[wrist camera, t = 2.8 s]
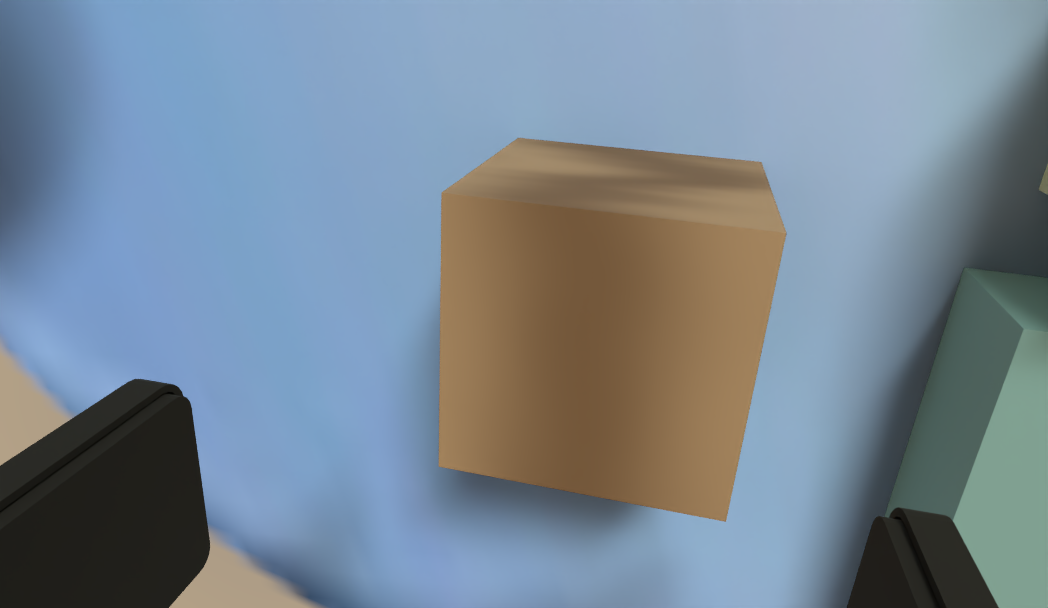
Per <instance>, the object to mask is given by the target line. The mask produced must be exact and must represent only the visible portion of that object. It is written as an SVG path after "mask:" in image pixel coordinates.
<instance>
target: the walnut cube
mask: <svg viewBox="0 0 1048 608" xmlns="http://www.w3.org/2000/svg"><path fill="white" fill-rule="evenodd" d="M785 237H786V231H785V228H784V225H783V222H782V219H781V216H780V214H779V211H778V208H777V205H776V202H775V199H774V197H773V194H772V191H771V188H770V185H769V182H768V180H767V177H766V174H765V171H764V168H763V165H762V163H761V162H755V161H745V160H735V159H725V158H715V157H705V156H695V155H685V154H674V153H664V152H654V151H644V150H634V149H624V148H614V147H604V146H594V145H584V144H574V143H564V142H554V141H544V140H534V139H524V138H517V139H516V140H515V141H513V142H512V143H510V144H509V145H508V146H506V147H505V148H503V149H502V150H501V151H499V152H498V153H496V154H495V155H494V156H492V157H491V158H489V159H488V160H487V161H485V162H484V163H482V164H481V165H480V166H478V167H477V168H475V169H474V170H473V171H471V172H470V173H468V174H467V175H466V176H464V177H463V178H461V179H460V180H459V181H457V182H456V183H454V184H453V185H452V186H450V187H449V188H447V189H446V190H445V191H443V192H442V199H441V297H440V395H439V467H444V468H449V469H454V470H459V471H465V472H470V473H475V474H480V475H485V476H491V477H496V478H501V479H506V480H512V481H517V482H522V483H527V484H532V485H538V486H543V487H548V488H553V489H558V490H564V491H569V492H574V493H579V494H584V495H590V496H595V497H600V498H605V499H610V500H616V501H621V502H626V503H631V504H637V505H642V506H647V507H652V508H657V509H663V510H668V511H673V512H678V513H683V514H689V515H694V516H699V517H704V518H709V519H715V520H720V521H725V522H726V518H727V514H728V509H729V504H730V499H731V494H732V490H733V485H734V480H735V475H736V471H737V466H738V461H739V456H740V452H741V447H742V442H743V437H744V432H745V428H746V423H747V418H748V413H749V409H750V404H751V399H752V394H753V390H754V385H755V380H756V375H757V371H758V366H759V361H760V356H761V351H762V347H763V342H764V337H765V332H766V328H767V323H768V318H769V313H770V309H771V304H772V299H773V294H774V289H775V285H776V280H777V275H778V270H779V266H780V261H781V256H782V251H783V247H784V242H785Z"/></svg>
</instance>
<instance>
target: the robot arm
mask: <svg viewBox="0 0 1048 608" xmlns="http://www.w3.org/2000/svg"><path fill="white" fill-rule="evenodd" d="M209 551H210V540H209V532H208V525H207V518H206V510H205V503H204V496H203V488H202V481H201V474H200V466H199V459H198V452H197V444H196V437H195V430H194V422H193V415H192V408H191V404H190V401H189V400H188V399H187V398H186V397H183V394H182V391H181V390H180V389H179V387H177V386H175V385H173V384H167V383H161V382H155V381H149V380H144V379H134V380H132V381H129V382H127V383H126V384H124V385H123V386H121V387H120V388H118V389H117V390H115V391H114V392H112V393H111V394H109V395H108V396H106V397H105V398H103V399H101V400H100V401H98V402H97V403H95V404H94V405H92V406H91V407H89V408H88V409H86V410H85V411H83V412H82V413H80V414H79V415H77V416H75V417H74V418H72V419H71V420H69V421H68V422H66V423H65V424H63V425H62V426H60V427H59V428H57V429H56V430H54V431H53V432H51V433H50V434H48V435H47V436H45V437H43V438H42V439H40V440H39V441H37V442H36V443H34V444H33V445H31V446H30V447H28V448H27V449H25V450H24V451H22V452H20V453H19V454H18V455H16V456H14V457H13V458H11V459H10V460H8V461H7V462H5V463H4V464H3V465H1V466H0V608H169V607H170V605H171V604H172V603H173V602H174V601H175V600H176V599H177V598H178V596H179V595H180V594H181V593H182V592H183V591H184V590H185V588H186V587H187V586H188V585H189V584H190V583H191V582H192V580H193V579H194V578H195V577H196V576H197V575H198V574H199V572H200V571H201V570H202V568H203V567H204V565H205V563H206V561H207V558H208V555H209ZM847 608H999V607H998V605H997V603H996V601H995V599H994V597H993V596H992V594H991V592H990V590H989V588H988V586H987V584H986V582H985V580H984V579H983V577H982V575H981V573H980V571H979V569H978V567H977V565H976V563H975V562H974V560H973V558H972V556H971V554H970V552H969V550H968V548H967V546H966V544H965V543H964V541H963V539H962V537H961V535H960V533H959V531H958V529H957V527H956V526H955V524H954V522H953V521H952V519H951V518H950V517H948V516H946V515H942V514H936V513H930V512H924V511H918V510H912V509H906V508H900V507H897V508H895V509H894V510H893V511H892V512H891V514H890V516H889V518H887V517H882V516H878V517H876V518H875V520H874V522H873V524H872V527H871V530H870V533H869V536H868V540H867V543H866V546H865V550H864V553H863V556H862V559H861V563H860V566H859V569H858V573H857V576H856V579H855V583H854V586H853V589H852V592H851V596H850V599H849V602H848V606H847Z"/></svg>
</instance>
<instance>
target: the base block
mask: <svg viewBox="0 0 1048 608" xmlns="http://www.w3.org/2000/svg"><path fill="white" fill-rule="evenodd" d="M897 507H900V508H906V509H912V510H918V511H924V512H930V513H936V514H942V515H946V516H948V517H950V518H951V519H952V521H953V522H954V524H955V526H956V527H957V529H958V531H959V533H960V535H961V537H962V539H963V541H964V543H965V544H966V546H967V548H968V550H969V552H970V554H971V556H972V558H973V560H974V562H975V563H976V565H977V567H978V569H979V571H980V573H981V575H982V577H983V579H984V580H985V582H986V584H987V586H988V588H989V590H990V592H991V594H992V596H993V597H994V599H995V601H996V603H997V605H998V607H999V608H1048V278H1046V277H1038V276H1030V275H1022V274H1014V273H1005V272H997V271H989V270H981V269H973V268H964V269H963V272H962V275H961V279H960V282H959V285H958V288H957V291H956V294H955V297H954V300H953V303H952V307H951V310H950V313H949V316H948V319H947V322H946V325H945V328H944V332H943V335H942V338H941V341H940V344H939V347H938V350H937V353H936V357H935V360H934V363H933V366H932V369H931V372H930V375H929V378H928V382H927V385H926V388H925V391H924V394H923V397H922V400H921V403H920V407H919V410H918V413H917V416H916V419H915V422H914V425H913V428H912V432H911V435H910V438H909V441H908V444H907V447H906V450H905V453H904V457H903V460H902V463H901V466H900V469H899V472H898V475H897V478H896V482H895V485H894V488H893V491H892V494H891V497H890V500H889V503H888V507H887V510H886V513H885V516H884V517H887V518H889V516H890V514H891V512H892V511H893V510H894V509H895V508H897Z"/></svg>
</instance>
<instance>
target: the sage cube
mask: <svg viewBox="0 0 1048 608" xmlns="http://www.w3.org/2000/svg"><path fill="white" fill-rule="evenodd" d="M1039 190H1040V191H1042V192H1043V193H1045V194H1047V195H1048V164H1047V167H1046V170H1045V172H1044V175H1043V178H1042V181H1041V184H1040V187H1039Z"/></svg>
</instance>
